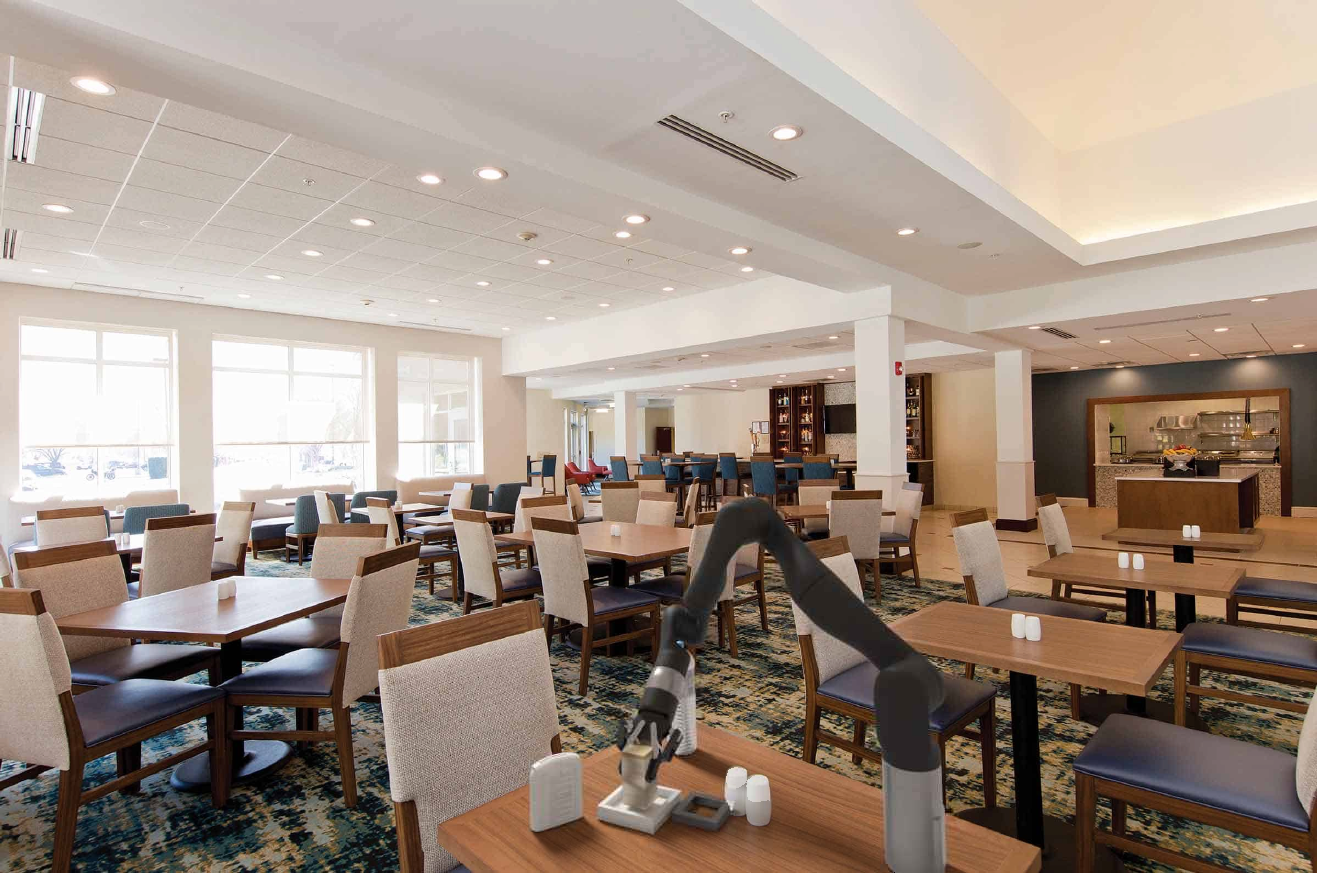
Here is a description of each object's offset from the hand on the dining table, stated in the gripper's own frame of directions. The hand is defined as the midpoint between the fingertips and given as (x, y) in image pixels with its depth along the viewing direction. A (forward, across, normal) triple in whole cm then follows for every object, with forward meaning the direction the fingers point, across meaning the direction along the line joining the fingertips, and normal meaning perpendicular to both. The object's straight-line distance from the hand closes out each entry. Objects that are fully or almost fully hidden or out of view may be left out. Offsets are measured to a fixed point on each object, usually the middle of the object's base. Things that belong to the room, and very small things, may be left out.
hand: (635, 778), depth 129 cm
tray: (+4, 0, +6) cm, 7 cm away
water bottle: (-16, -4, +26) cm, 31 cm away
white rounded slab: (+11, -12, -1) cm, 17 cm away
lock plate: (+1, +12, +9) cm, 15 cm away
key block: (+2, 0, +5) cm, 6 cm away
